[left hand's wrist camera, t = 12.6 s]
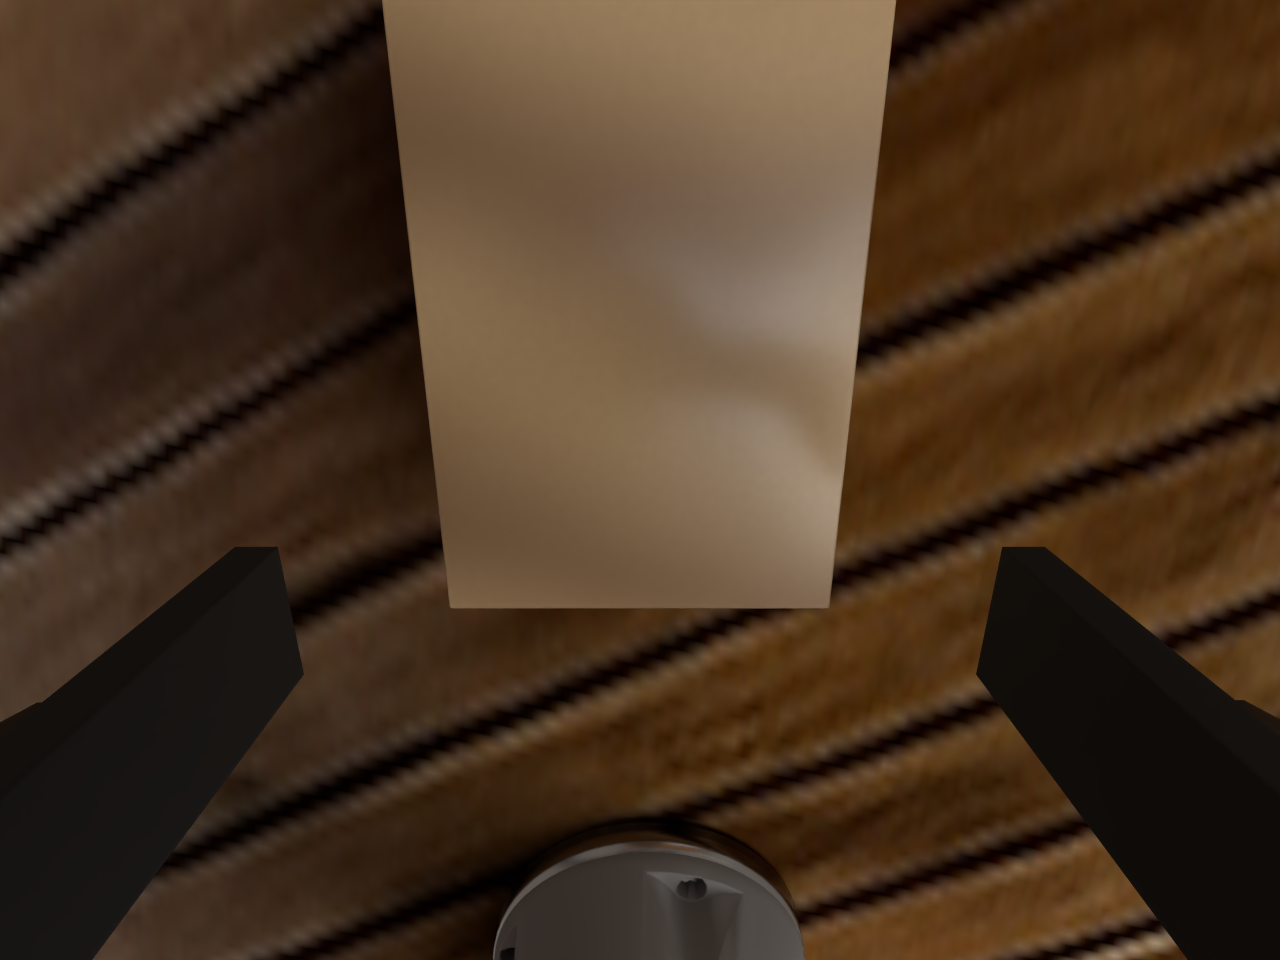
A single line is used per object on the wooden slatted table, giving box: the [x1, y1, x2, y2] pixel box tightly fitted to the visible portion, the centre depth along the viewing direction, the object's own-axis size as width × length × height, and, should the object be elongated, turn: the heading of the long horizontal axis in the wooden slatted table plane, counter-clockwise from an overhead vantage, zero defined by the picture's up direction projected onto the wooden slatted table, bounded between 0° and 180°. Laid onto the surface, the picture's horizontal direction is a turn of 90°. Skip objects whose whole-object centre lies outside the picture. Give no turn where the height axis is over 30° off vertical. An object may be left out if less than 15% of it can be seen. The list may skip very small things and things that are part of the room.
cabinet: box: [382, 0, 896, 608], centre depth 19 cm, size 22×10×9 cm, turn 0°
